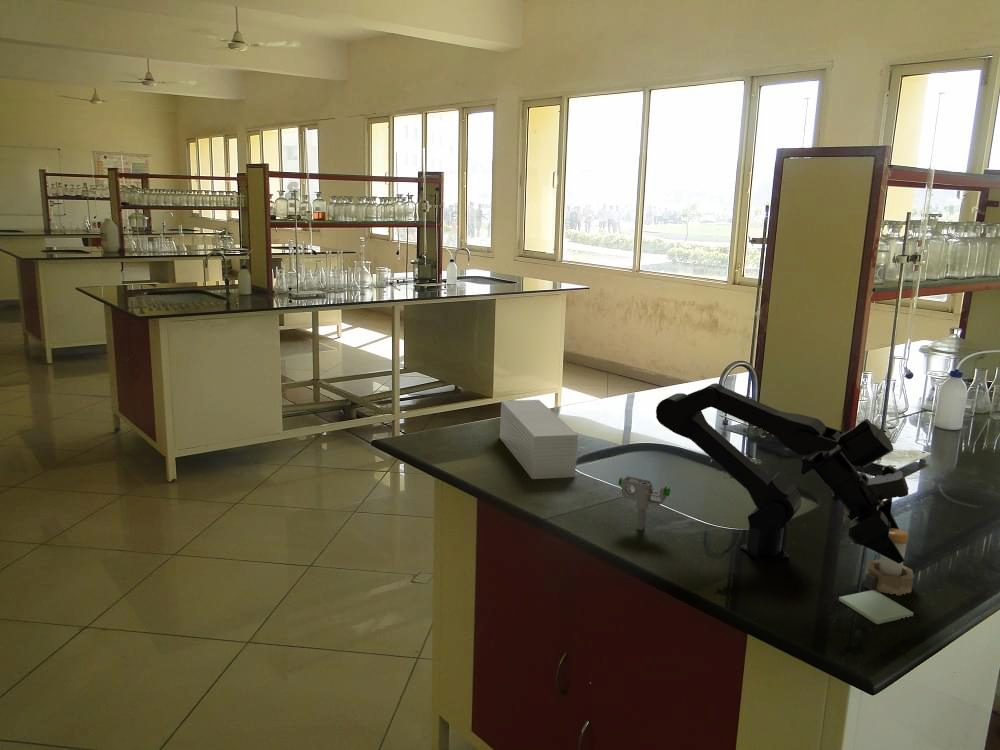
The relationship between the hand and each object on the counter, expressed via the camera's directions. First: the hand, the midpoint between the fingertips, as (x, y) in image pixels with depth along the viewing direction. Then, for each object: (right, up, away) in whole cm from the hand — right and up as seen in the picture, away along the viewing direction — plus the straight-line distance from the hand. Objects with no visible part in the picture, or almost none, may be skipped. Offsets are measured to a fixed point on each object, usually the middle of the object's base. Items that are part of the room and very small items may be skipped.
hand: (902, 551), depth 136 cm
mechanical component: (-42, 0, +21) cm, 47 cm away
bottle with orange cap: (-1, -6, +2) cm, 7 cm away
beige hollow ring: (-1, -6, +2) cm, 7 cm away
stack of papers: (-62, +10, +63) cm, 89 cm away
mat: (-8, -8, -6) cm, 13 cm away
